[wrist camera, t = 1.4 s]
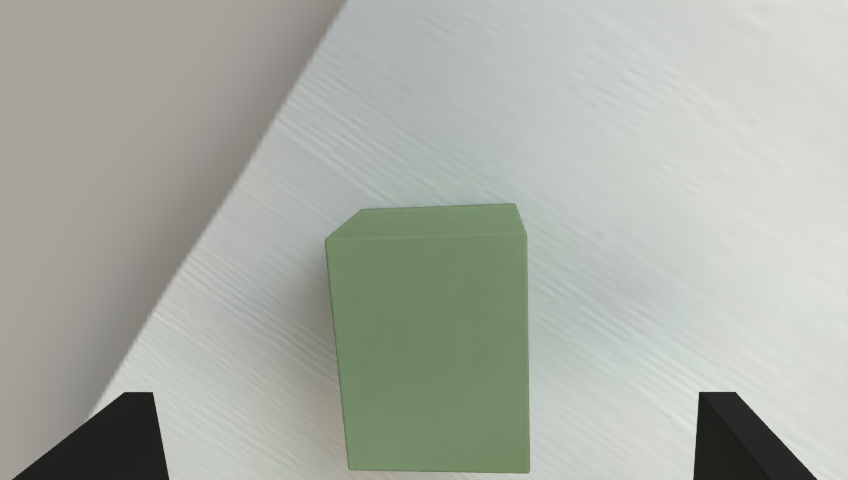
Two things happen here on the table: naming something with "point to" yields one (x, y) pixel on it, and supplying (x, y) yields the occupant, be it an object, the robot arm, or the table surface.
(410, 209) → the green rectangular block
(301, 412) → the table surface
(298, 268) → the table surface
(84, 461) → the robot arm
